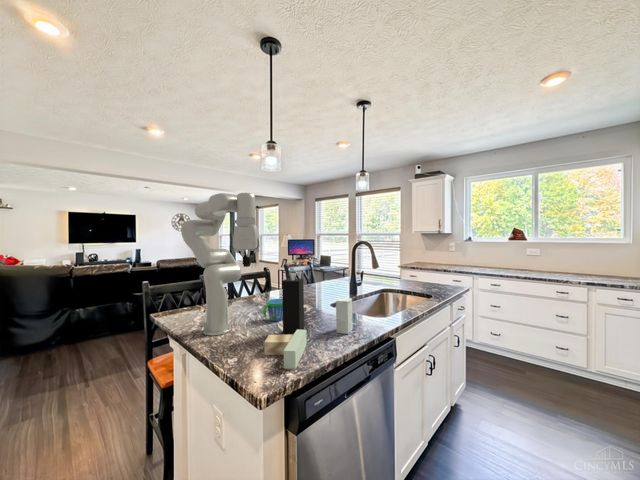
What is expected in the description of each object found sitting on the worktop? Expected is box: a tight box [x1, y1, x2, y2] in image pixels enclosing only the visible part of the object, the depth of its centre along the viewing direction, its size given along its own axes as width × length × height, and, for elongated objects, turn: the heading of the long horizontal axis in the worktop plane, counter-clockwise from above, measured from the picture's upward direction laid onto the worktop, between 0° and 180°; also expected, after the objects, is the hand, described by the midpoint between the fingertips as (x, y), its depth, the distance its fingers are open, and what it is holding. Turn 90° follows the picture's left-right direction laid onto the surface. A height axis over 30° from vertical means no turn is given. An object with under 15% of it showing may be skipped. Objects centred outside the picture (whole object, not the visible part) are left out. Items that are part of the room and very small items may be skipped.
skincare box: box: [335, 297, 354, 335], centre depth 125 cm, size 8×6×15 cm
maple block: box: [263, 334, 293, 356], centre depth 104 cm, size 10×8×5 cm
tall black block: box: [281, 272, 305, 335], centre depth 122 cm, size 8×8×28 cm
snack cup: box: [262, 298, 283, 322], centre depth 144 cm, size 16×10×10 cm
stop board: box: [283, 329, 307, 370], centre depth 100 cm, size 4×21×6 cm, turn 173°
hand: (246, 266), depth 112 cm, fingers closed
